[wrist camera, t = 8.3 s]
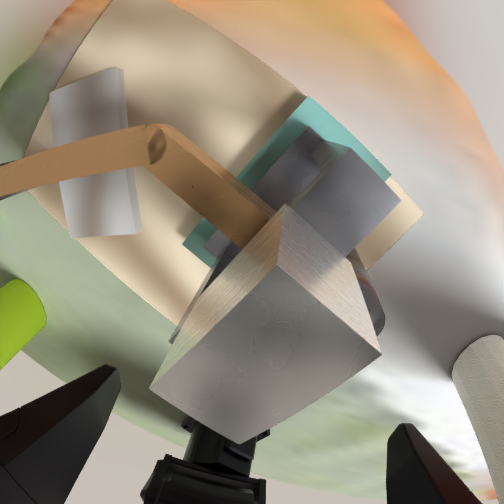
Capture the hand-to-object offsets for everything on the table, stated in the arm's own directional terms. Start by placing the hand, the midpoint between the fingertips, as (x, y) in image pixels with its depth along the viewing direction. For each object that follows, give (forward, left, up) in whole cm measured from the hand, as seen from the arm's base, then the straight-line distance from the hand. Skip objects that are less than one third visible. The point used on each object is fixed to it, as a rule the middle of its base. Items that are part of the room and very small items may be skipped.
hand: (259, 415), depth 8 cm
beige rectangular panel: (0, +8, -13) cm, 15 cm away
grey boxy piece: (+3, +2, -11) cm, 11 cm away
